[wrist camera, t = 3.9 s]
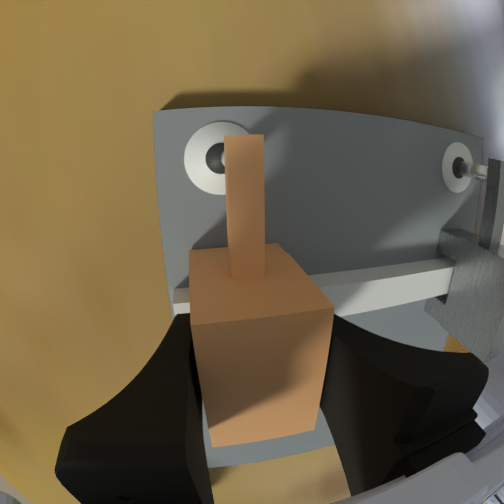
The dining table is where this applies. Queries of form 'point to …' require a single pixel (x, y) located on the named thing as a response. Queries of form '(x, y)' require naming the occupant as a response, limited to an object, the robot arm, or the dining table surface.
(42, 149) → the dining table surface
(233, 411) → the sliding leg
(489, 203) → the fixed leg
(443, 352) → the robot arm
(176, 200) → the board
